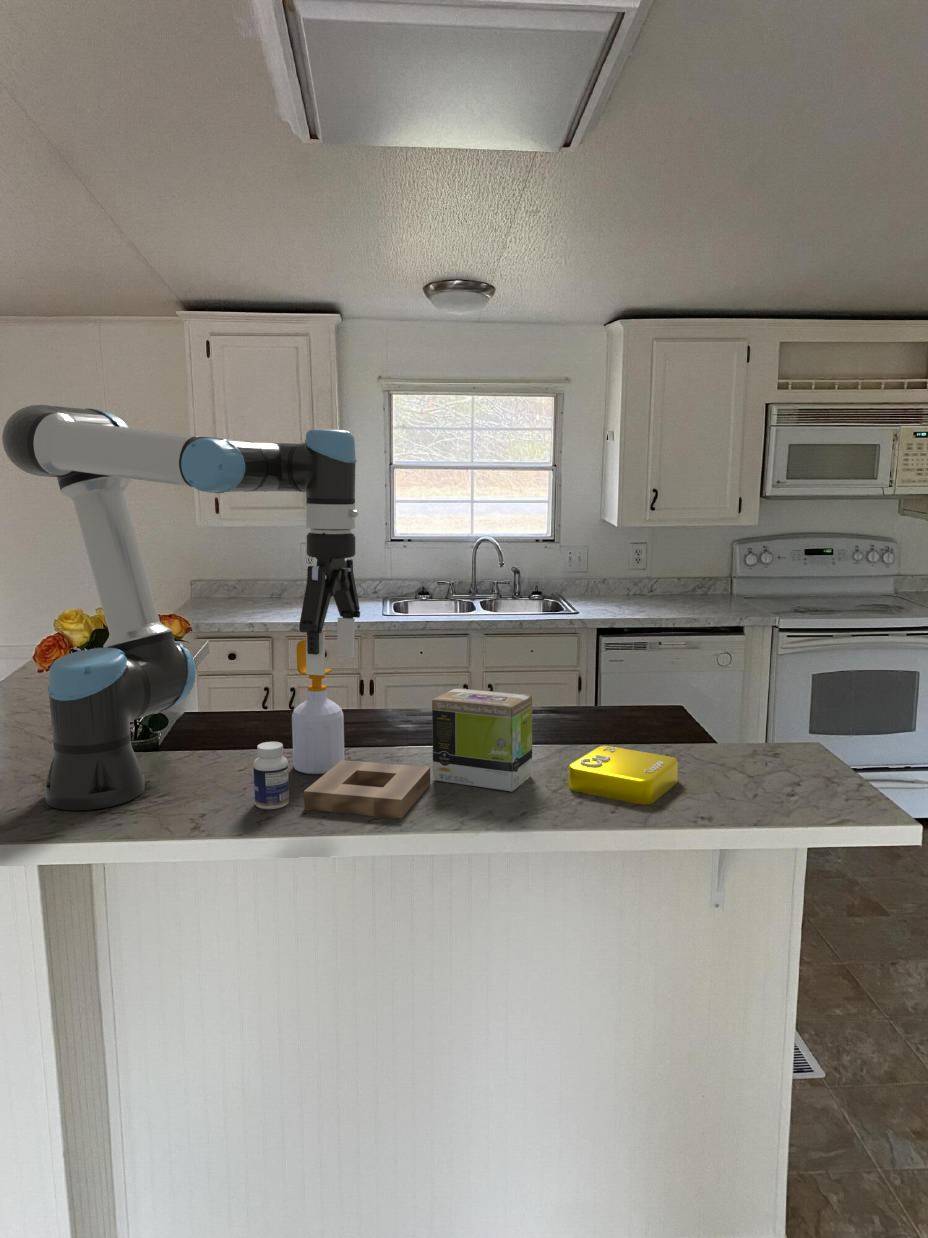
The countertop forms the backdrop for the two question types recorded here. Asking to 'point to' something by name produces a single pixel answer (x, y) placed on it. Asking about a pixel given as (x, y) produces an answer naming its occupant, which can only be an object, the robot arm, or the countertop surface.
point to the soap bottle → (316, 725)
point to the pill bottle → (271, 776)
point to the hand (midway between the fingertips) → (331, 665)
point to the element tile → (623, 774)
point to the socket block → (368, 789)
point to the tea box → (482, 738)
